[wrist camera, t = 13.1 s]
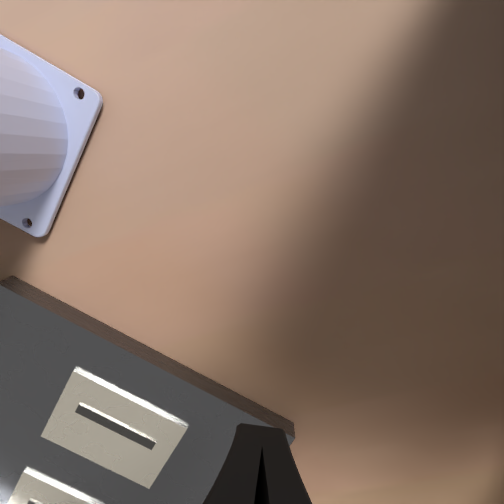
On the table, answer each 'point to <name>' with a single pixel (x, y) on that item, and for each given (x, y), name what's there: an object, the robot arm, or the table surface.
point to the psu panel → (105, 412)
